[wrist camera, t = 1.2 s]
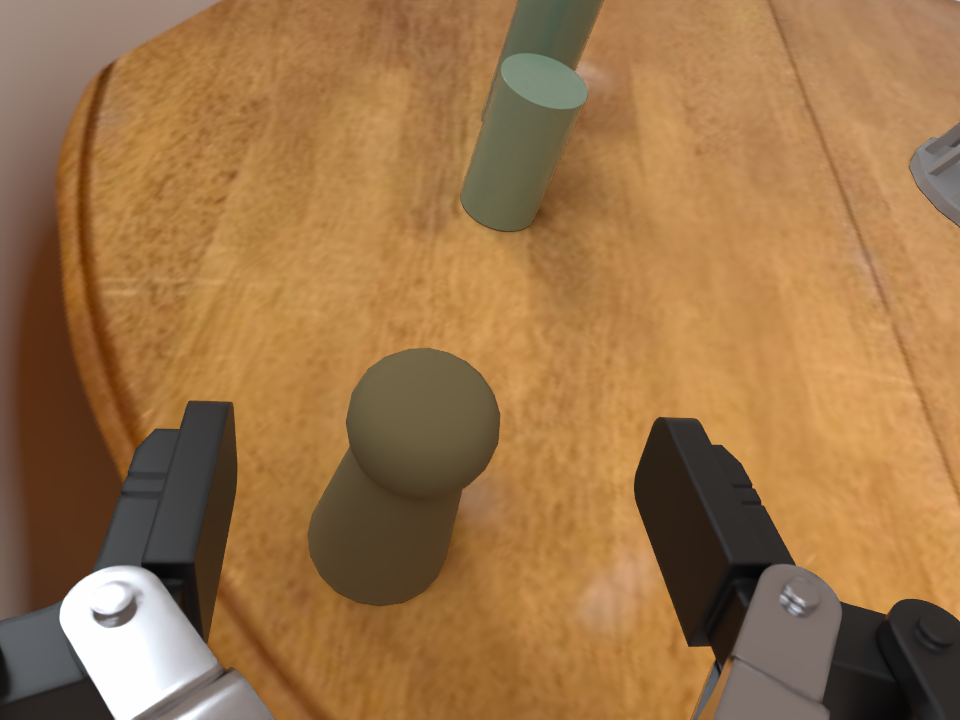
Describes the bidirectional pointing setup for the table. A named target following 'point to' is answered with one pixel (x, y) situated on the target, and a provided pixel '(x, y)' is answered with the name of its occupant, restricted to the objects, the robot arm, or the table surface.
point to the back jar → (548, 32)
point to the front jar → (521, 140)
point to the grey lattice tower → (940, 172)
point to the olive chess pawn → (402, 475)
